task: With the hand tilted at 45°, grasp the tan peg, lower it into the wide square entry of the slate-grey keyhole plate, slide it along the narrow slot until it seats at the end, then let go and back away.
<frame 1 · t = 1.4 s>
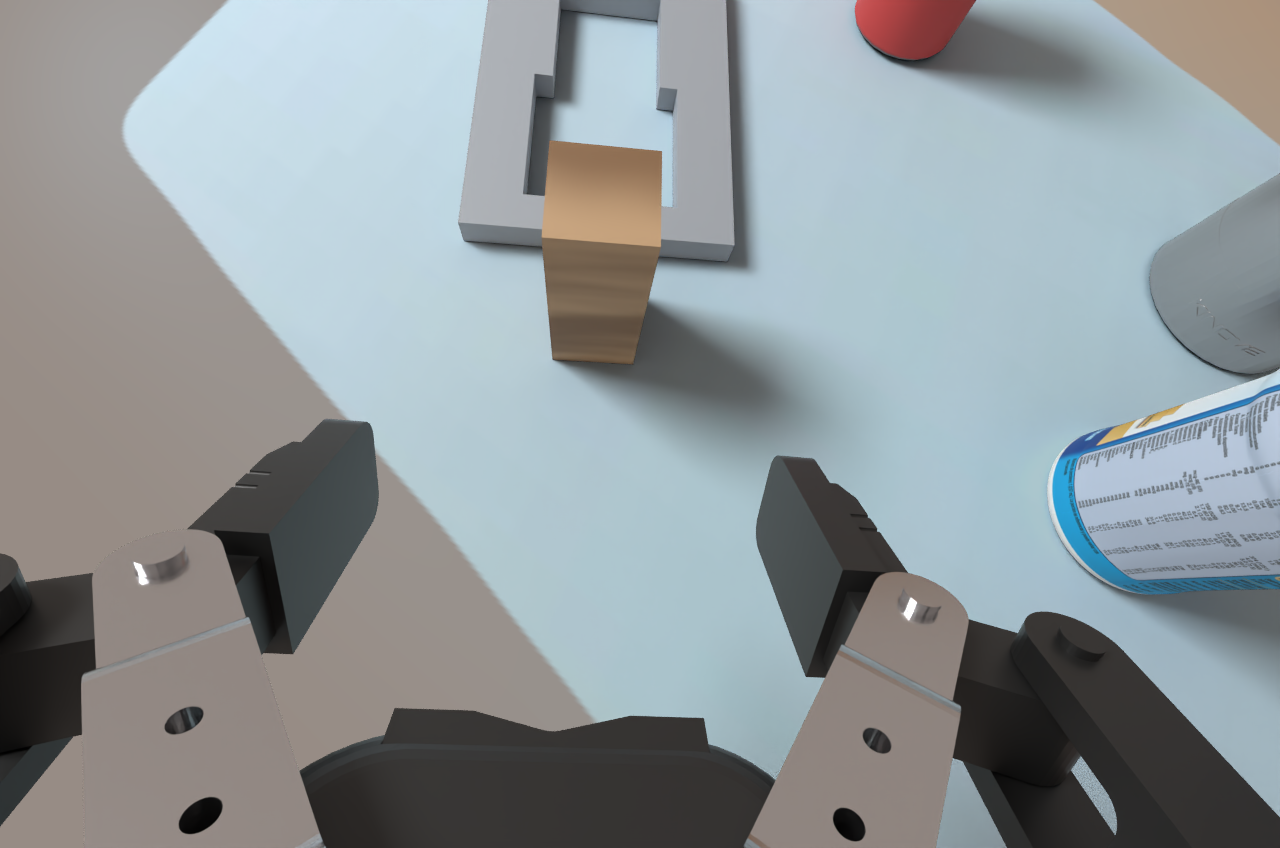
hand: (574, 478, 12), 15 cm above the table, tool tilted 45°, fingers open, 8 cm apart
tan peg: (594, 325, 29), on the table
beer can: (896, 31, 39), on the table
keyhole plate: (607, 51, 35), on the table
beverage bottle: (1112, 512, 30), on the table
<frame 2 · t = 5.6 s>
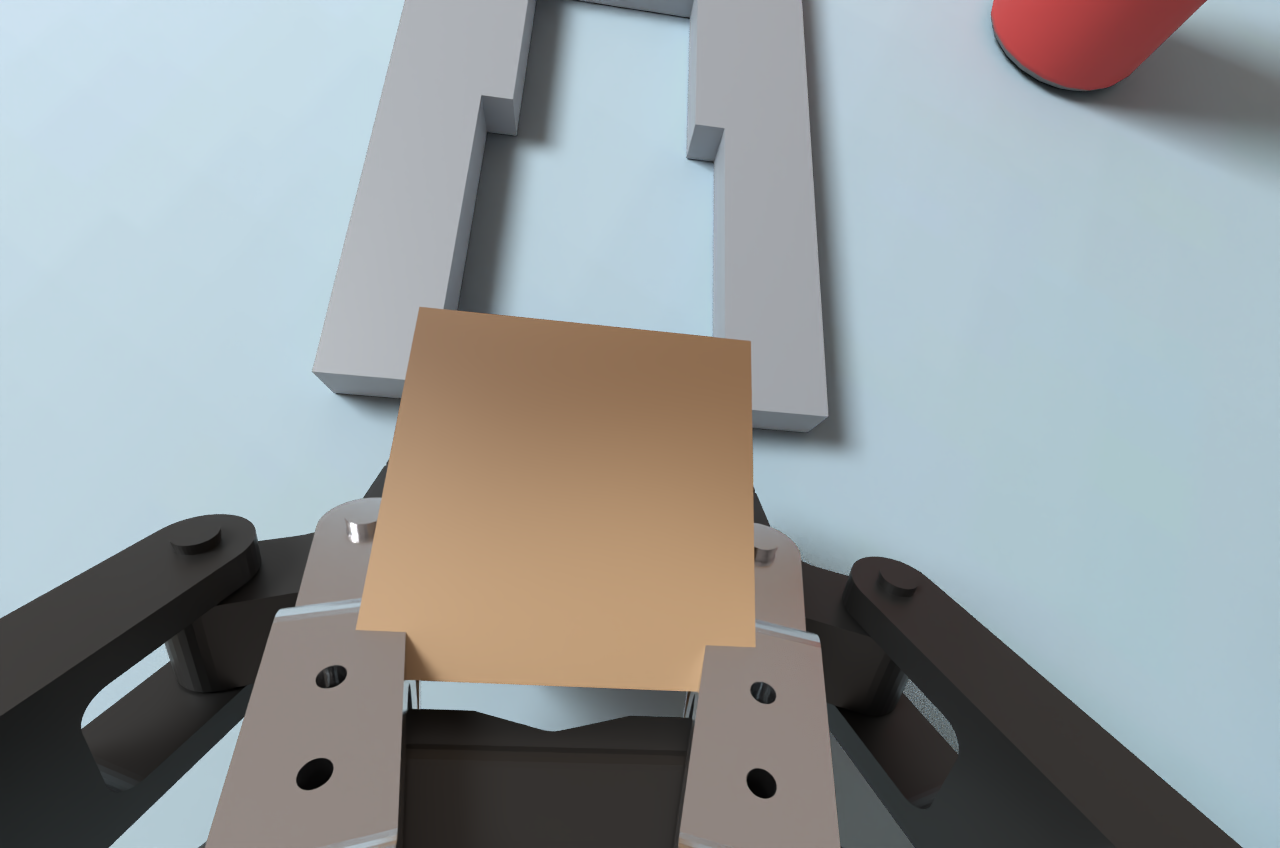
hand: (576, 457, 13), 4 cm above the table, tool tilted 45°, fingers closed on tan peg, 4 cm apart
tan peg: (568, 566, 16), on the table, touching gripper
beer can: (1049, 46, 25), on the table
keyhole plate: (609, 62, 22), on the table
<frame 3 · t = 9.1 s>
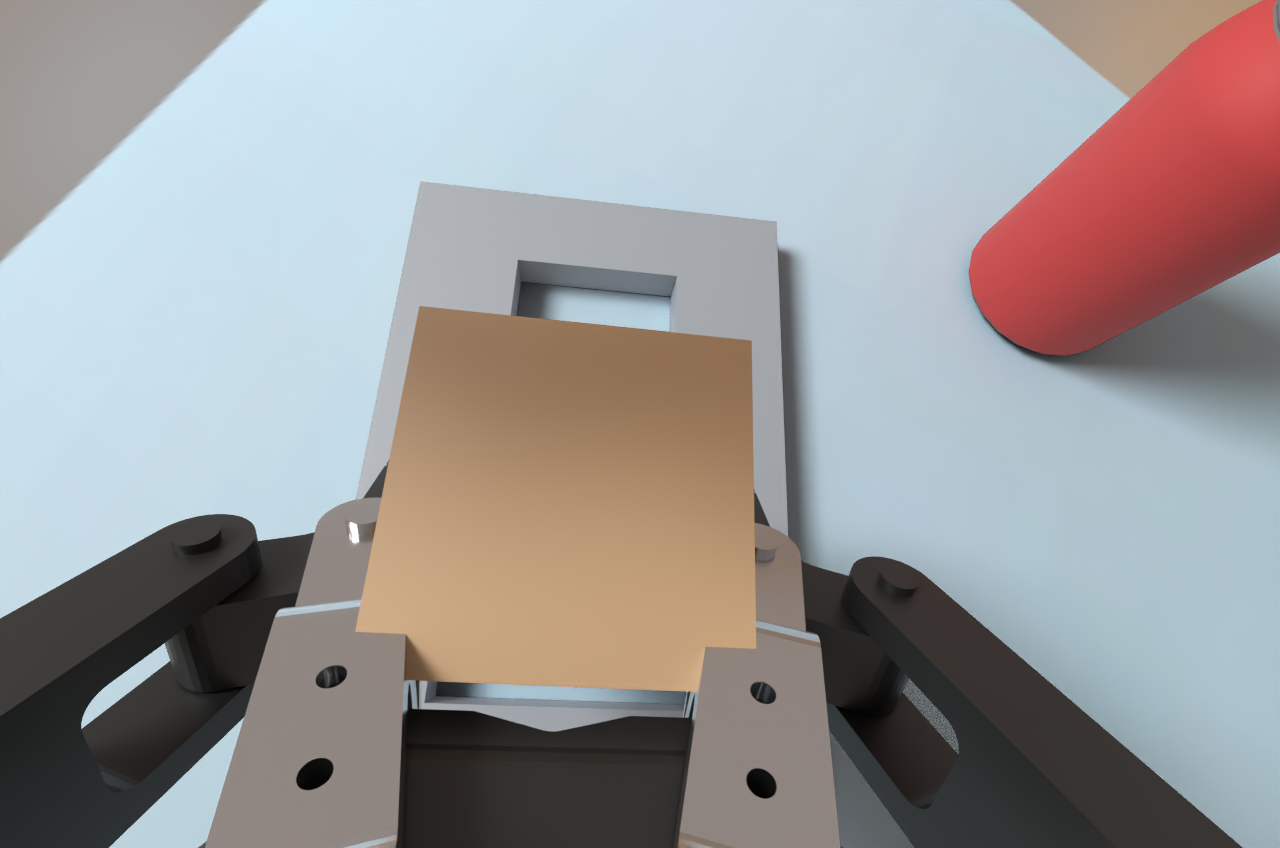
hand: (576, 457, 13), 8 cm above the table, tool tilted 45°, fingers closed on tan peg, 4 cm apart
tan peg: (568, 565, 16), point 4 cm above the table, touching gripper
beer can: (1027, 296, 26), on the table
keyhole plate: (591, 357, 22), on the table
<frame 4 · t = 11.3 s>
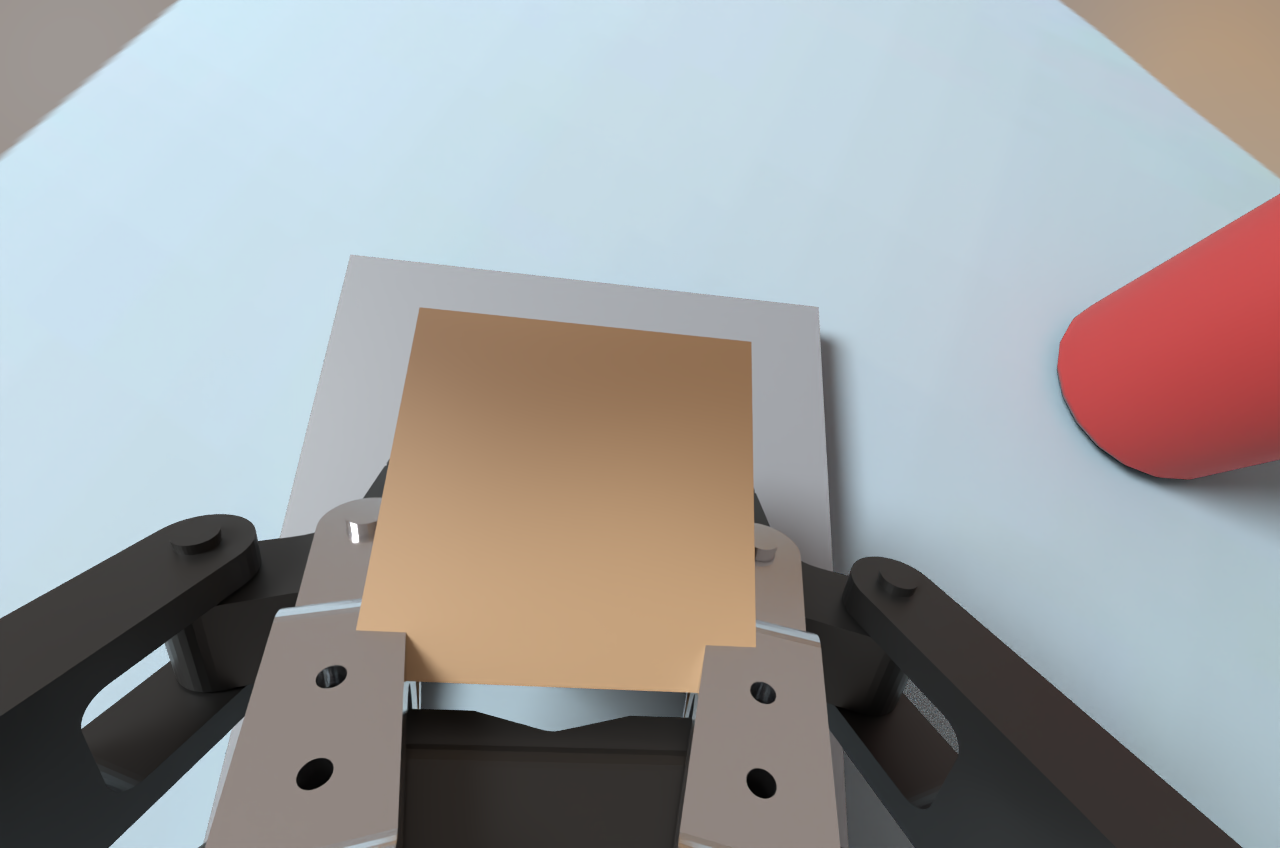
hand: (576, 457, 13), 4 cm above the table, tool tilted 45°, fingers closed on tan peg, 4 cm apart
tan peg: (568, 566, 16), on the table, touching gripper
beer can: (1127, 394, 21), on the table
keyhole plate: (575, 489, 17), on the table
when the fingers open (4 cm above the table, at t = 12.9 s): tan peg stays where it is, on the table.
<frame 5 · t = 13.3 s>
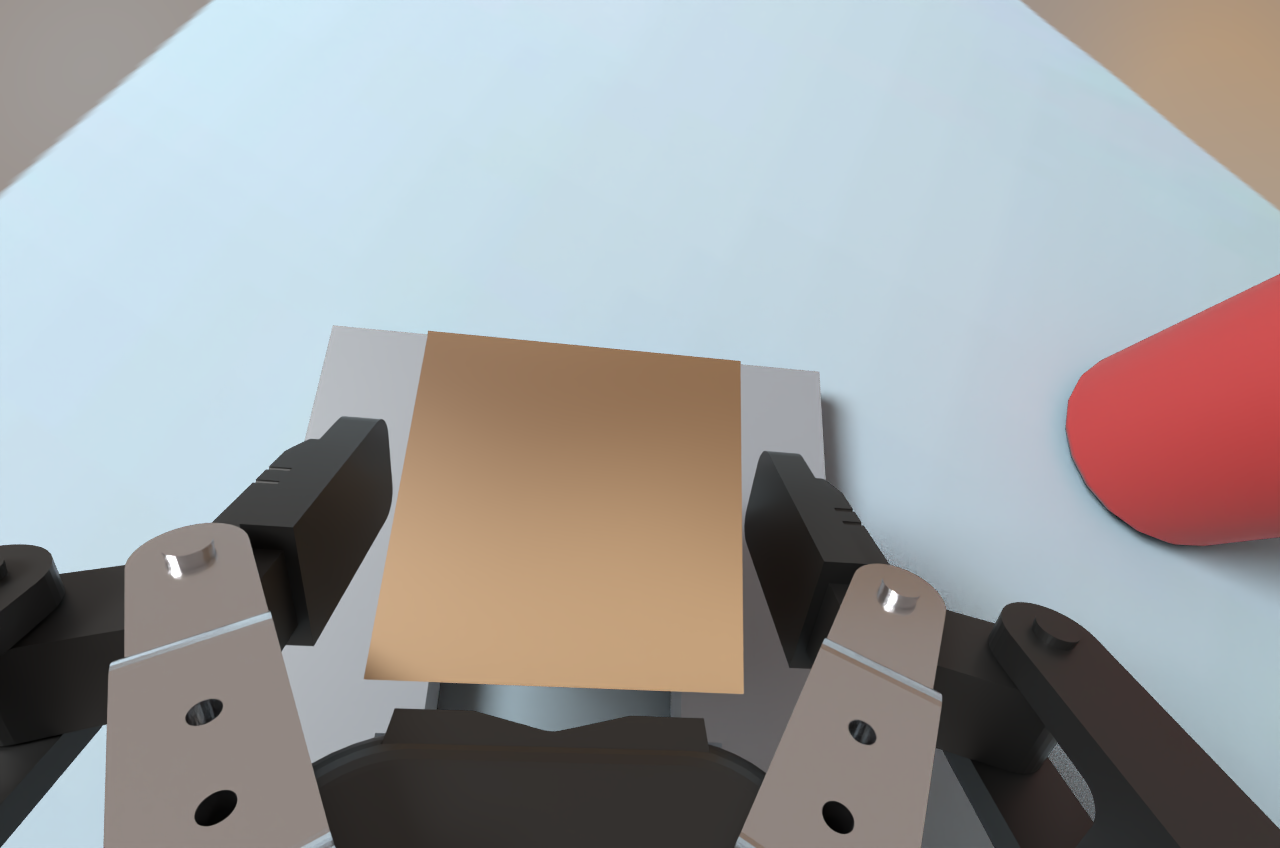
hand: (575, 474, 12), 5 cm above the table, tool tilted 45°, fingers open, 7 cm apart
tan peg: (569, 569, 16), on the table
beer can: (1137, 452, 20), on the table
keyhole plate: (568, 567, 16), on the table
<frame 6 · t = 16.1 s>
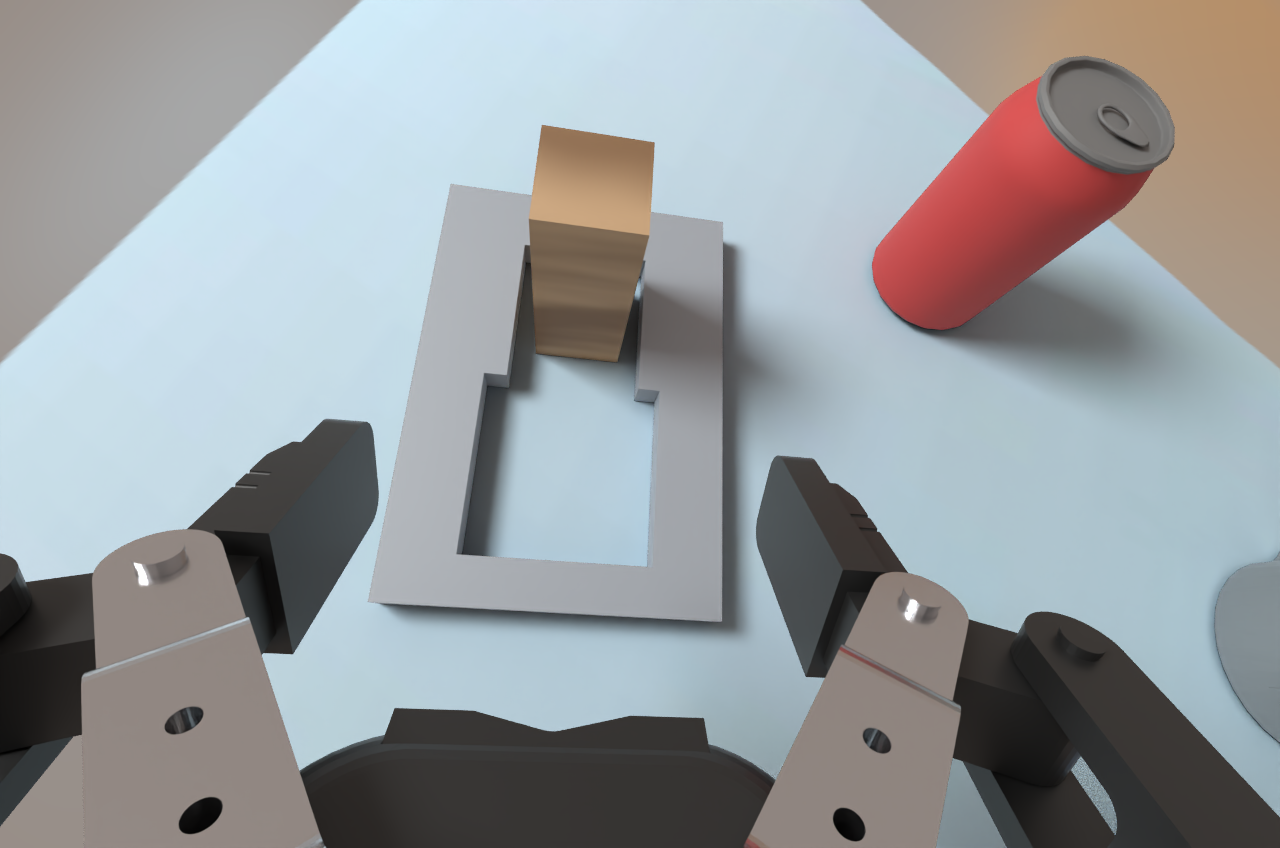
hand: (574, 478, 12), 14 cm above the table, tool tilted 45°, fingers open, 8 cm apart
tan peg: (580, 322, 29), on the table
beer can: (918, 285, 33), on the table
keyhole plate: (579, 320, 29), on the table
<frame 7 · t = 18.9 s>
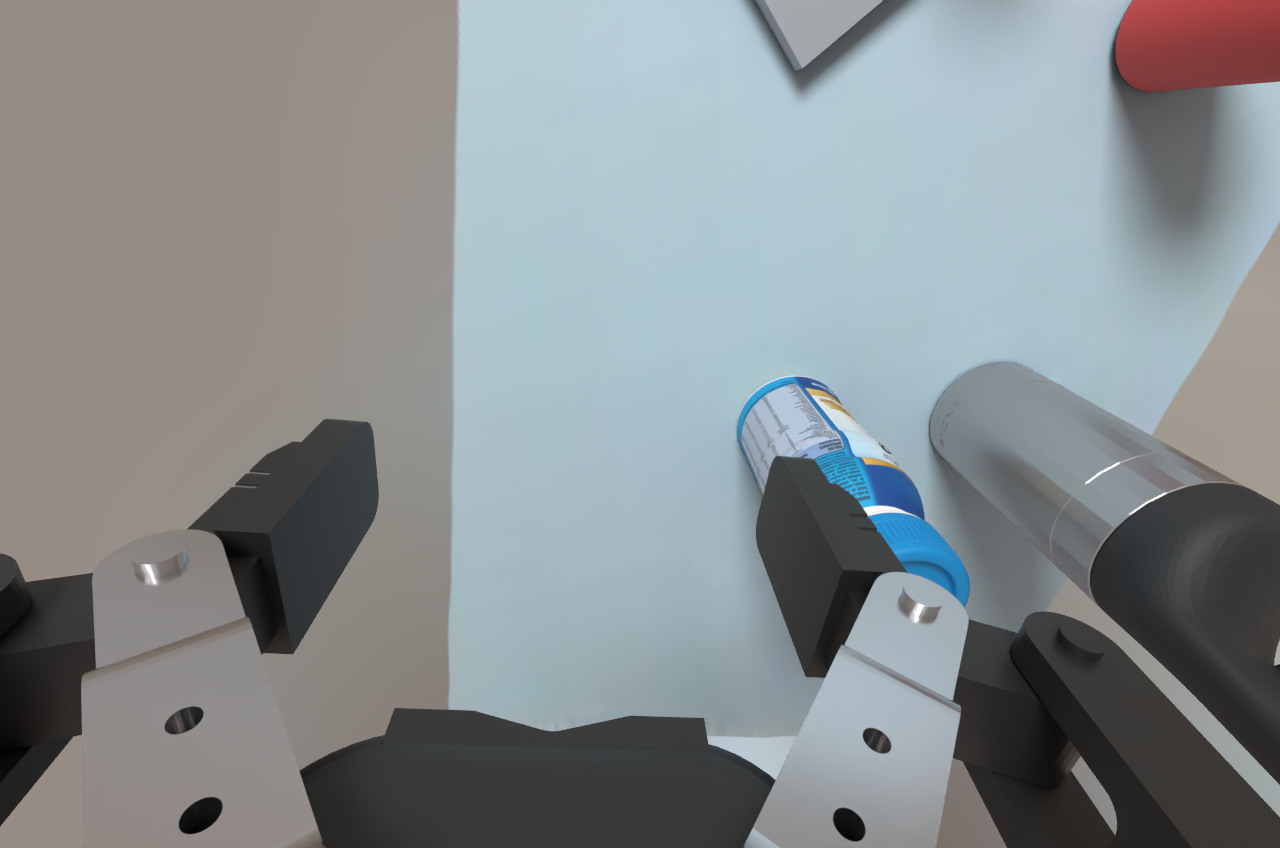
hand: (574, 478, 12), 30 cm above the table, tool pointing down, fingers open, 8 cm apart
beer can: (1160, 31, 35), on the table
beverage bottle: (785, 419, 46), on the table
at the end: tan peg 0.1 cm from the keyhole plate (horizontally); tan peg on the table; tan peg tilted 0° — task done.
